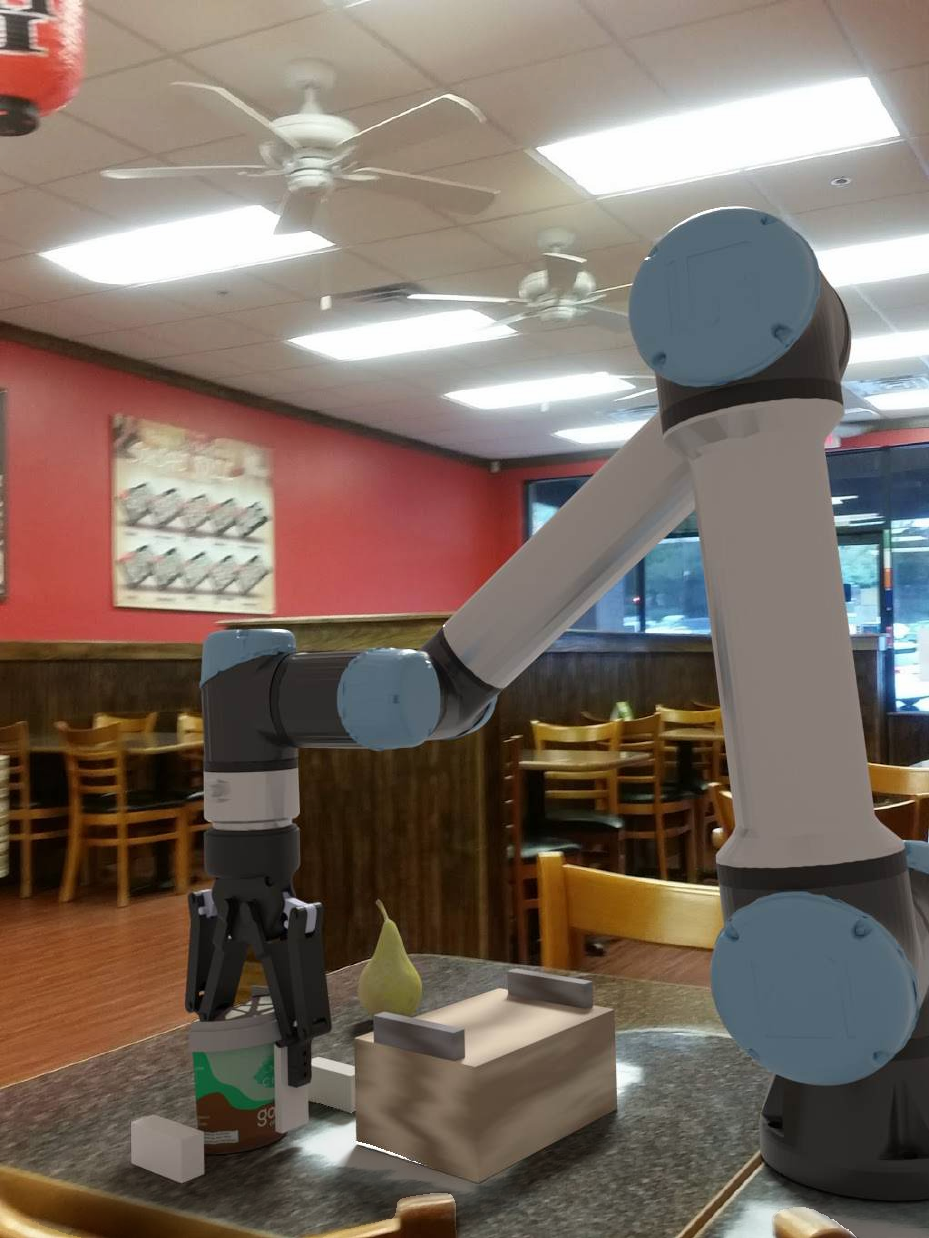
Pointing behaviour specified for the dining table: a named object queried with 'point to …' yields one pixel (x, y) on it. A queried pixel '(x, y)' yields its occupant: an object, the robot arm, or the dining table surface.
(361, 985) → the fruit
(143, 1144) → the pair of white blocks
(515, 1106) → the wooden stand
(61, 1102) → the dining table surface
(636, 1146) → the dining table surface
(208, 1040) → the food container
